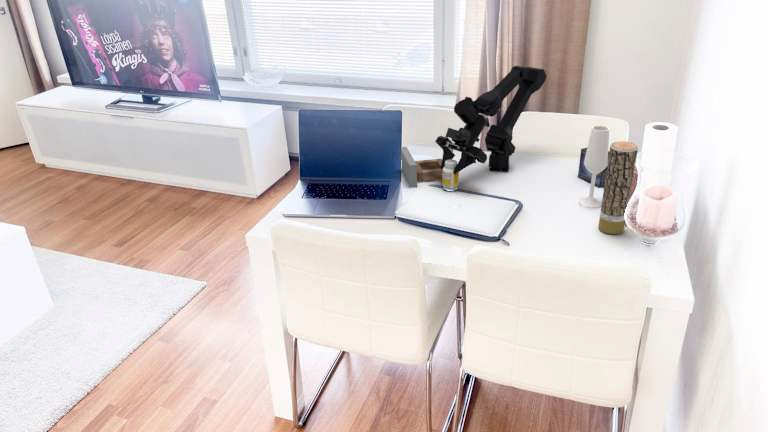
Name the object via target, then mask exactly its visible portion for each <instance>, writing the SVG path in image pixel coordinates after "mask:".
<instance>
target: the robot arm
mask: <svg viewBox="0 0 768 432" xmlns="http://www.w3.org/2000/svg"><path fill="white" fill-rule="evenodd" d="M546 80H547V73H546V70H545V69H544V68H539V67H533V66H521V65H513V66H512V67H511V70H510V71H509V72H508V73H507V74H506V75H505V76H504V78H502V79H501V80H500V81H499V83H497V84H496V85H495V86H494V87H493V88H492V89H491V90H489V91H486V92H483V93H482V94H480V96H478V97H477V98H476V99H475V100H473V98H472V97H469V96H465V98H464V99H461V100H459V101H457V103H455V104H454V107H453V111H454V114H455V115H456V116H457V117H458V118H459V119H460V120H461V121H462V122H463V124H465V125H464V126H463V127H459V129H458V130H457V129H453V128H450V127H448V128H447V129H446V130H447V131H446V133H445V136H442V135H439V136H437V137H436V140H435V141H434V142H435V143H436V145H438V146H439V148H440V149H442V157H441V159H442V163H441V169H442V170H443V168H444V167H445V161H446V160H454V157H455V156H456V154H455V153H454V151H457V152H460V158H459V160H458V161H457V165H456V167H455V169H454V171H453V173H454V174H457V173H458V172H459V173H460V172H461V171H462V170H465V169H466V168H468V167H469V166H471V165H473V164H476V163H481V164H485V163H486V161H487V160H488V168H489V171H491V172H504V173H505V172H507V173H508V172H509V169H510V157H511V156H513V154H514V153H515V151H516V146H515V145H514V143H513V142H512V141H513V137H514V136H513V129H514V127H515V126H516V124H517V122H518V119H519V118H520V116H521V114H522V112H523V111H524V109H525V107H526V105H527V103H528V101H529V100H530V98H531V96H532V95H533V94H534V93H536V92H537V91H539V90H540V89H541V88H542V86H543V85H544V84H545V82H546ZM517 86H518V89H517V90H516V92H515V94H514V96H513V98H512V100H511V101H510V103H509V105H508V107H507V108H506V111H505V113H504V114H503V116H502V117H501V120H500V121H499V122H498V123H497V124H491V125H490V119H489V118H488V117H494V116H495V115H497V113H498V112H499V111H500V109H501V108H502V105H503V101H504V100H505V99H506V98H507V97H508V95H510V94H511V92H512V91H513V90H515V88H517ZM485 116H487V118H486V117H485ZM485 127H486V128H489V129H488V131H487V132H486V135H485V137H484V144H485V147H486V151H487V152H490V154H489V156H488V154H486V152H485V151H484V150H483V148H481V147H478V146H475V143H479V142H480V139H479V137H480V135H481V134H482V132H483V130H484V128H485ZM449 138H450V139H449Z"/></svg>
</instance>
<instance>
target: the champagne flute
mask: <svg viewBox="0 0 768 432" xmlns="http://www.w3.org/2000/svg"><path fill="white" fill-rule="evenodd" d="M609 137H610V128H609V127H608V126H606V125H593V126H592V127H591V129H590V135H589V139H588V144H587V147H586V148H587V151H586V156H585V160H584V165H585V167H586V169H587V170H588V171H589V172H590V173H592V179H591V183H590V187H589V194H588V196H587V197H584V198H582V199H581V198H580V199H579V200H578V203H579V205H581V206H583V207H585V208H599V207H601V205H602V201H600V200H598V199H596V198H595V197H594V193H595V187H596V186H595V180H596V174H598V173H600V172H601V171H603V170H604V169H605V168H606V167H607V165H608V151H609V144H610V143H609Z"/></svg>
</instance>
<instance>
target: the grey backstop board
mask: <svg viewBox="0 0 768 432" xmlns="http://www.w3.org/2000/svg"><path fill="white" fill-rule="evenodd" d="M401 147H402V149H401V160H402V171H401V173H402V175H403V177H404V178H405V181H406V182H407V185H408V187H409V188H418V182H417V164H416V162H415V161H416V160H415V159H414V158H413V156H412V154H411V152H410V150H409V149H408V147H407V146H401Z"/></svg>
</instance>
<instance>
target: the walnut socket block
mask: <svg viewBox="0 0 768 432" xmlns="http://www.w3.org/2000/svg"><path fill="white" fill-rule="evenodd" d="M414 161H415V162H416V164H417V184H420V183H431V182H439V181H441V182H442V173H443V170H442V169H441V163H442V158H435V159H434V158H431V159H423V160H414Z"/></svg>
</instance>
